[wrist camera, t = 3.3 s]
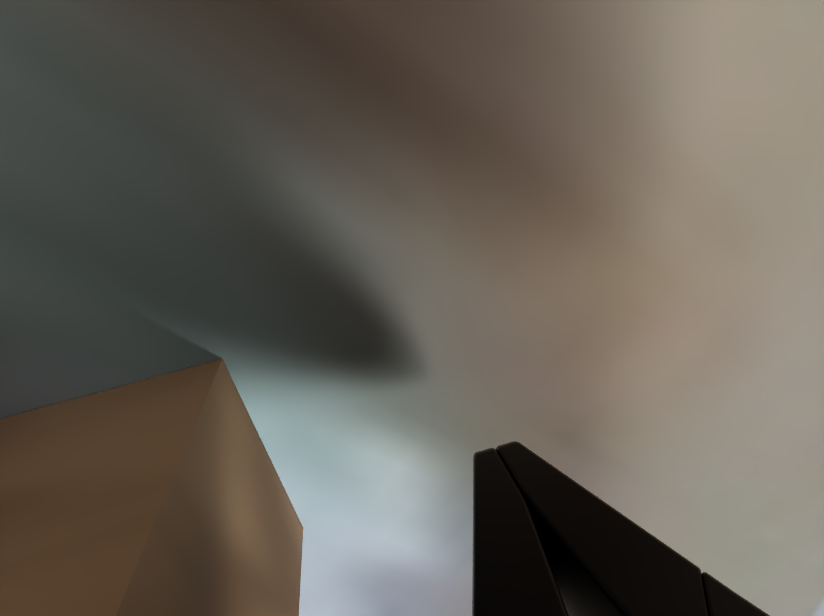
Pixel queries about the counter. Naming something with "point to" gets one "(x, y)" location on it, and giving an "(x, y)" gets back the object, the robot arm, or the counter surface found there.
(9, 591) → the walnut block
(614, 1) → the counter surface
